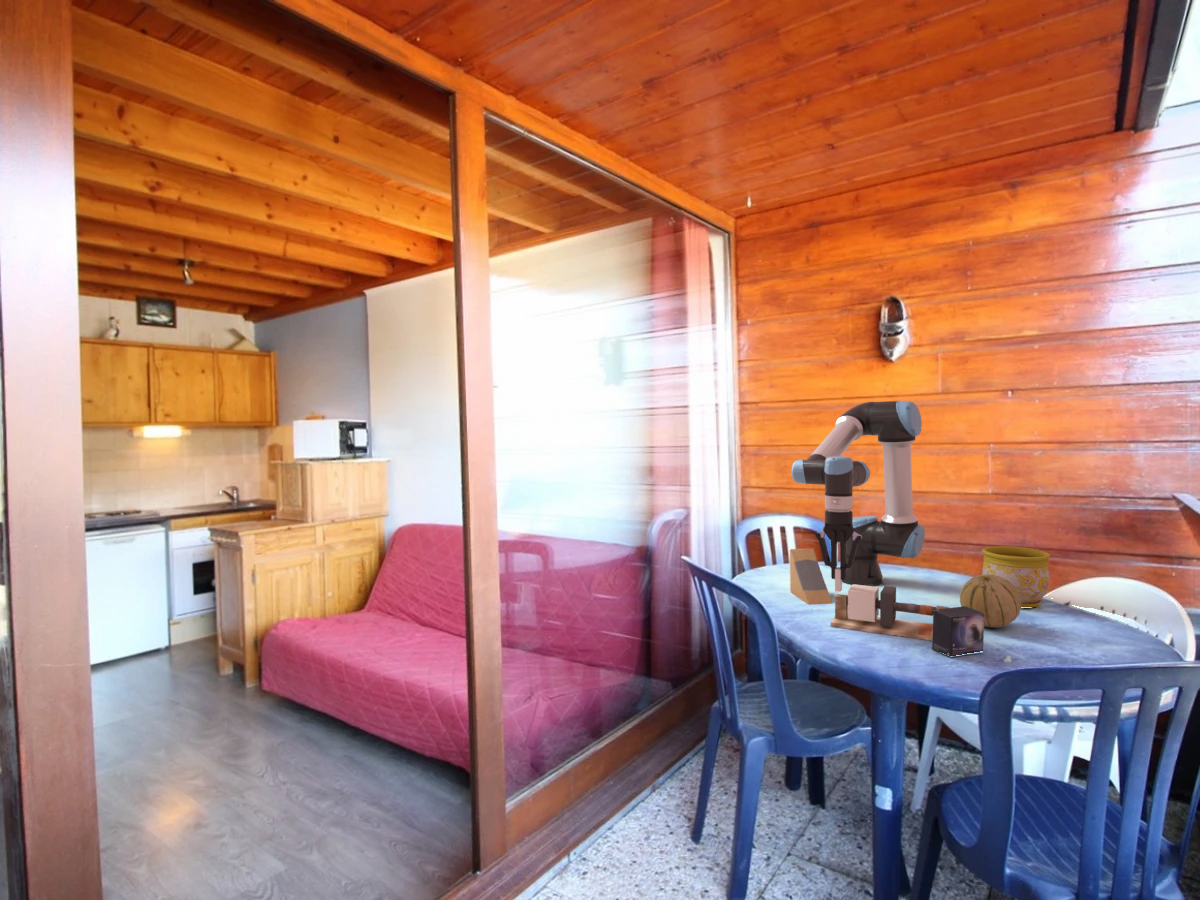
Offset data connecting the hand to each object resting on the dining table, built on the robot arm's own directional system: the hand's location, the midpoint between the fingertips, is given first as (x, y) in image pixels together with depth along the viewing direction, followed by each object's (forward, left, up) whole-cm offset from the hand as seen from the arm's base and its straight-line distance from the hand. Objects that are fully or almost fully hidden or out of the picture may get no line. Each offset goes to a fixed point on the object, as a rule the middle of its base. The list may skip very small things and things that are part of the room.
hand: (838, 590), depth 188 cm
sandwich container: (-22, -13, -10) cm, 27 cm away
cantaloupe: (-15, +38, -9) cm, 42 cm away
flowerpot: (-44, +45, -9) cm, 63 cm away
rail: (0, +14, -9) cm, 17 cm away
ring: (0, +13, -7) cm, 15 cm away
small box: (+11, +31, -10) cm, 34 cm away
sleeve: (0, +7, -7) cm, 10 cm away
